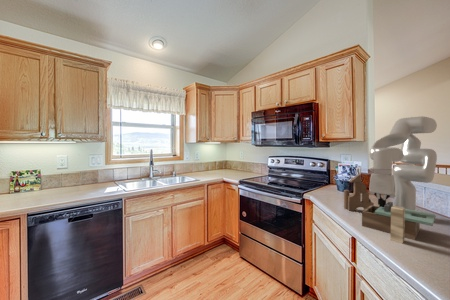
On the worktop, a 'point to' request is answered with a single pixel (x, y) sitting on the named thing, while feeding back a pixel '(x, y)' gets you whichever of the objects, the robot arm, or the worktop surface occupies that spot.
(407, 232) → the open wooden box
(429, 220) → the lid
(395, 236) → the block
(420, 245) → the worktop surface
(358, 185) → the wooden toy
